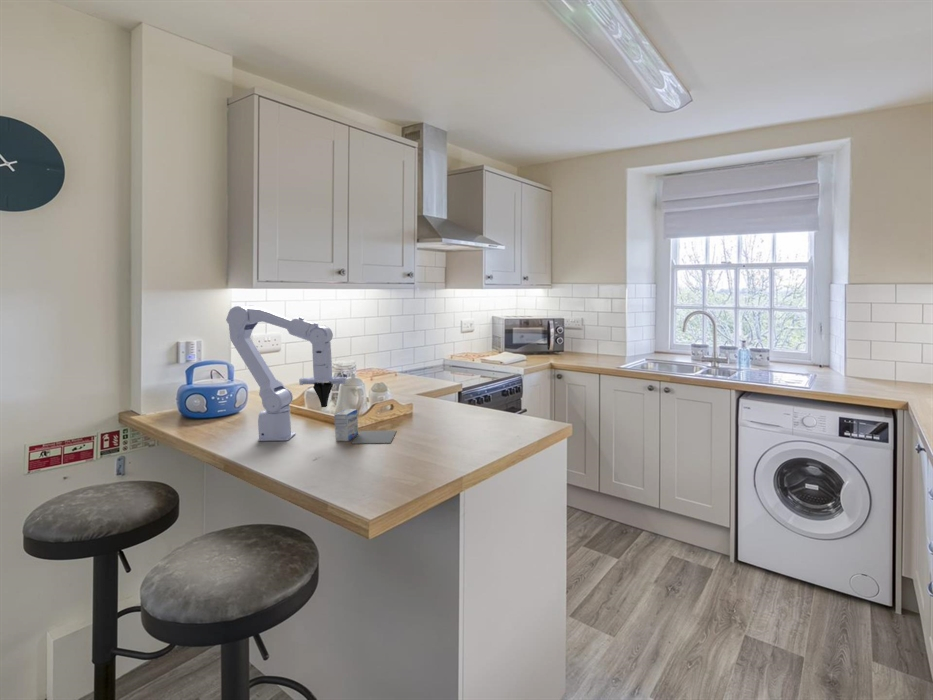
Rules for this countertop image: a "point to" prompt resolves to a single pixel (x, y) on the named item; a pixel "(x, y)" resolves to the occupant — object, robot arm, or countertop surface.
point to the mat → (374, 437)
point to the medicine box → (346, 425)
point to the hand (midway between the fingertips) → (324, 406)
